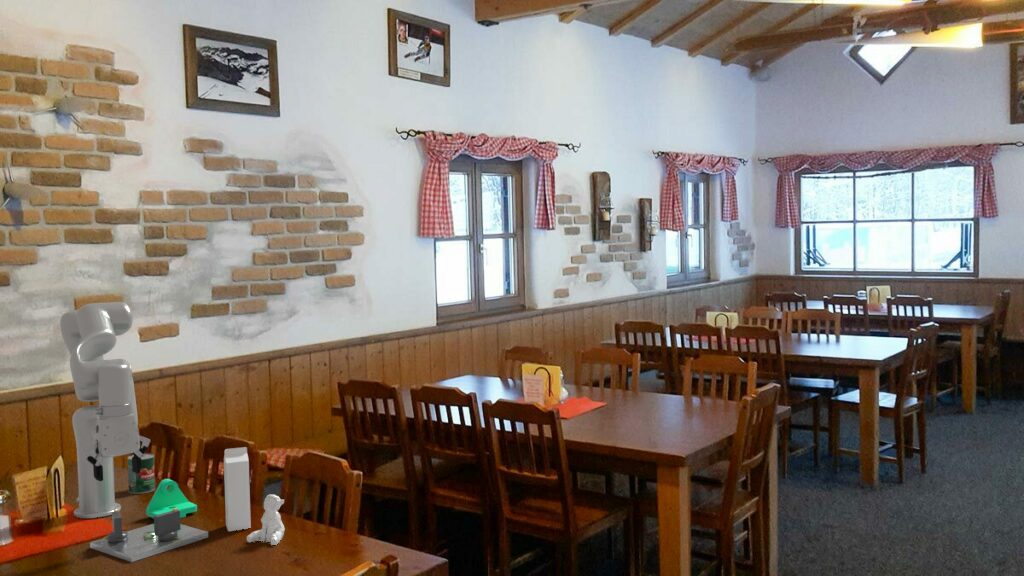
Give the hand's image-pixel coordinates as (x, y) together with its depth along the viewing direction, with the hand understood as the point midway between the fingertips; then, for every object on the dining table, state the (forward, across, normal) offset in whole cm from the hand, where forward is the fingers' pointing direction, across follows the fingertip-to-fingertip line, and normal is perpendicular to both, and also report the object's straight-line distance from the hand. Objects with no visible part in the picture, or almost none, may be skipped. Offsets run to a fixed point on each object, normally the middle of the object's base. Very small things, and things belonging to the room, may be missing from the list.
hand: (118, 476), depth 232 cm
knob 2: (+17, +9, -8) cm, 21 cm away
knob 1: (+17, 0, 0) cm, 17 cm away
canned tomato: (+18, +28, +48) cm, 59 cm away
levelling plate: (+18, +6, -4) cm, 20 cm away
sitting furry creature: (+18, +28, -26) cm, 43 cm away
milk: (+18, +28, -10) cm, 35 cm away
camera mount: (+19, +21, +14) cm, 32 cm away
